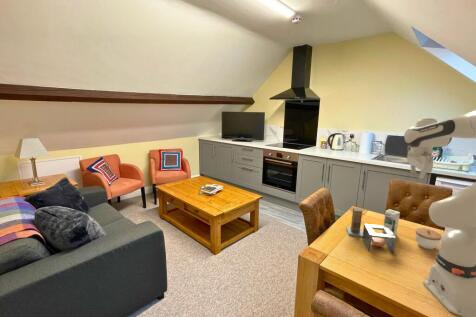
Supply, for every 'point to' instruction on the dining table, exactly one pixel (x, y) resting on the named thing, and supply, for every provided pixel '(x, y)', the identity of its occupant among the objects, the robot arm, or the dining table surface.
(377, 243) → the button
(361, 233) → the slate pad
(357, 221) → the brown rectangular block
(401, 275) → the dining table surface
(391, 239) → the frame
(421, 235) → the lidded jar
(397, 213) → the syrup box
